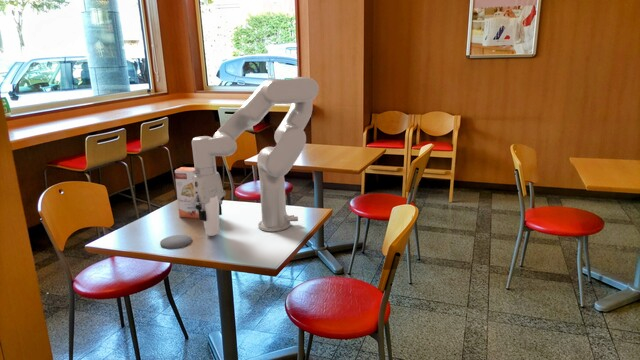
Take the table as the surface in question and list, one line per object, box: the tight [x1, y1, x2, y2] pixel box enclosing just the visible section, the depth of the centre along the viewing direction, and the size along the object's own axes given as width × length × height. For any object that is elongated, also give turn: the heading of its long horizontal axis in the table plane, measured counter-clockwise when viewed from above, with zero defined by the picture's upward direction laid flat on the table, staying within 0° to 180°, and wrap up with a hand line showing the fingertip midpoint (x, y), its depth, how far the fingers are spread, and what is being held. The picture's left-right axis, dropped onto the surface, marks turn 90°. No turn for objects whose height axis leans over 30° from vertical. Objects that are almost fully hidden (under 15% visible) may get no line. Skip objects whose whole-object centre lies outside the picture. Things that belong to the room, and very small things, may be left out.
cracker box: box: [174, 166, 200, 219], centre depth 186 cm, size 14×6×21 cm, turn 77°
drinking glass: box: [201, 196, 221, 237], centre depth 164 cm, size 7×7×15 cm
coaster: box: [159, 234, 193, 250], centre depth 161 cm, size 11×11×1 cm
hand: (210, 216), depth 165 cm, fingers closed on drinking glass, 6 cm apart
